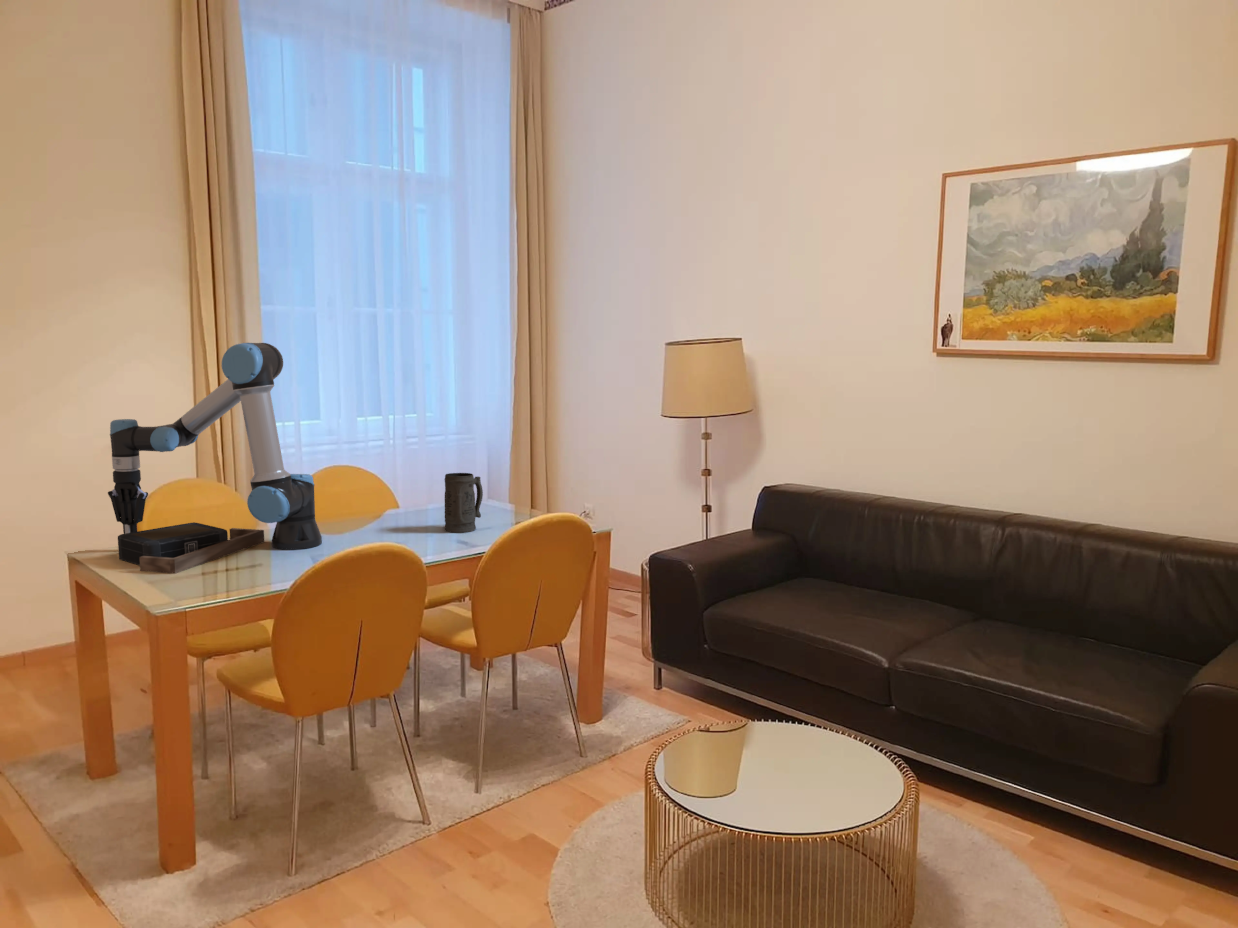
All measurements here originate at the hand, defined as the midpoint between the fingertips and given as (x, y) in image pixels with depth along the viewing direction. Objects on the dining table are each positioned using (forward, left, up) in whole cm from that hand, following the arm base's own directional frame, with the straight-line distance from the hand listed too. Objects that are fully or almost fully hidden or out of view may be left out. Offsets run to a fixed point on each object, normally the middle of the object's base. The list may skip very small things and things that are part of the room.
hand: (131, 544), depth 285 cm
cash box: (-18, +3, -2) cm, 19 cm away
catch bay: (-27, 0, -2) cm, 27 cm away
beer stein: (-87, -57, -2) cm, 104 cm away
